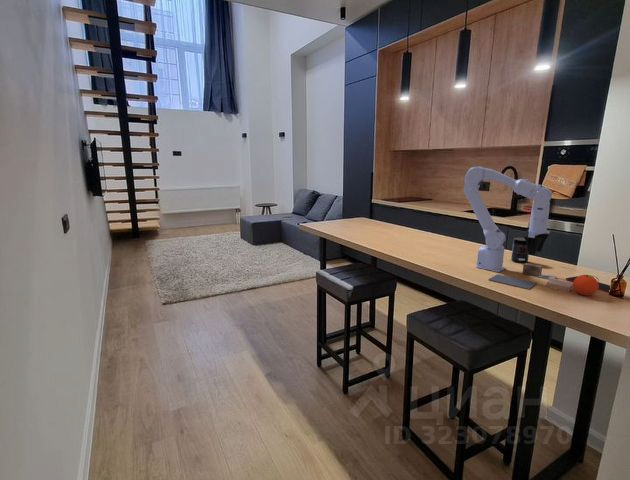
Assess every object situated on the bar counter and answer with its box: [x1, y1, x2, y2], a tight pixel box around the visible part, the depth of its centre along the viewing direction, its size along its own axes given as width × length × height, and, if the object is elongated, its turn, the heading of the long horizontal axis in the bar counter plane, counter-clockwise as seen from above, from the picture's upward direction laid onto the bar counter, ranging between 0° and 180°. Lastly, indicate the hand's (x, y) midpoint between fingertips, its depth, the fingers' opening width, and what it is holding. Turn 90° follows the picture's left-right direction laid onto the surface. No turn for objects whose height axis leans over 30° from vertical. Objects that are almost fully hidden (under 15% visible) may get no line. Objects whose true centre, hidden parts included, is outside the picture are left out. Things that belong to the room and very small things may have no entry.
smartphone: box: [565, 275, 611, 293], centre depth 130 cm, size 7×1×15 cm
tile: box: [545, 278, 574, 292], centre depth 128 cm, size 2×7×7 cm
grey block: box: [522, 262, 558, 281], centre depth 139 cm, size 11×4×4 cm, turn 43°
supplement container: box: [510, 237, 530, 264], centre depth 159 cm, size 7×7×10 cm
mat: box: [487, 274, 538, 291], centre depth 133 cm, size 14×9×1 cm, turn 43°
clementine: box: [573, 274, 600, 296], centre depth 119 cm, size 8×7×7 cm
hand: (534, 252), depth 139 cm, fingers open, 7 cm apart
